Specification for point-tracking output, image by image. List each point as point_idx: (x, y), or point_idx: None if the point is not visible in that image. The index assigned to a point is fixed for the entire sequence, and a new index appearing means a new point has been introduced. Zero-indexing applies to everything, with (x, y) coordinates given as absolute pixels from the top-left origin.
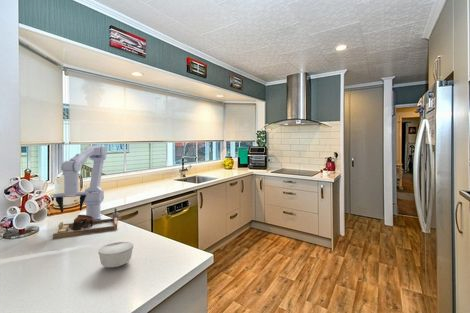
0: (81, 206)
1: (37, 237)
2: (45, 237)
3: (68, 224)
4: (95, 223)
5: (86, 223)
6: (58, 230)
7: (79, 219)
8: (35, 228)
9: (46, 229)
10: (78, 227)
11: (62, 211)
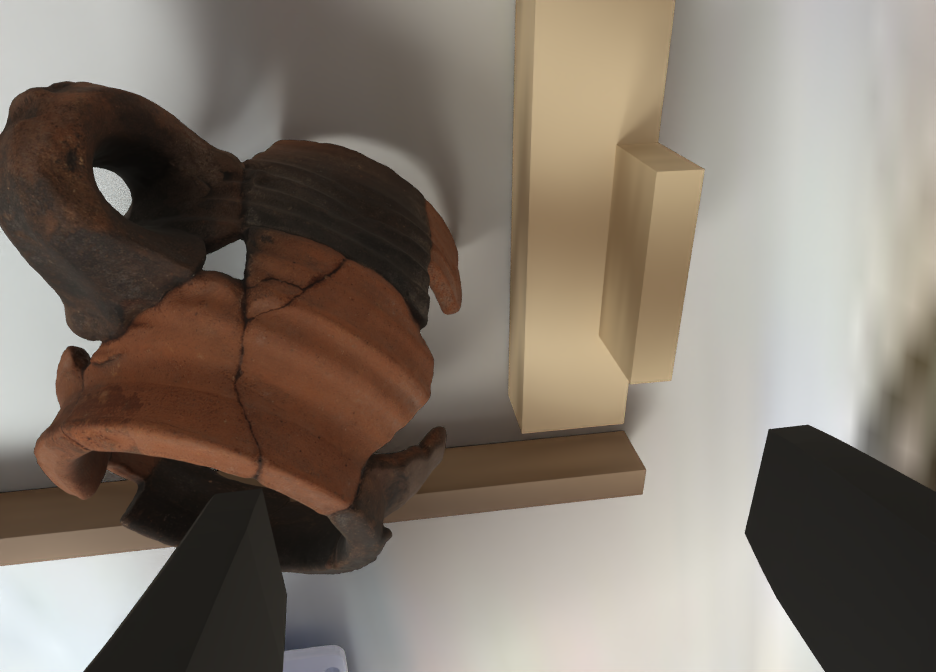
0: (137, 604)
1: (903, 101)
2: (806, 29)
3: (533, 478)
4: (126, 492)
5: (72, 86)
6: (657, 88)
7: (289, 300)
8: None
9: None
10: (308, 169)
11: (790, 442)
